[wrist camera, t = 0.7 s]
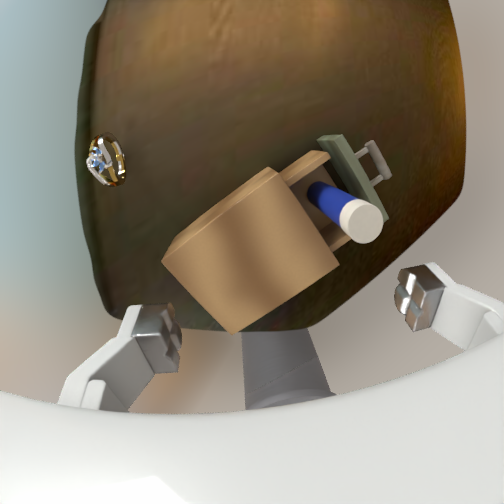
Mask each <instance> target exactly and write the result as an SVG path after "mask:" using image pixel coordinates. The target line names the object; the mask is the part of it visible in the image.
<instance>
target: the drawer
mask: <svg viewBox="0 0 504 504" xmlns="http://www.w3.org/2000/svg"><path fill="white" fill-rule="evenodd" d="M316 141H317V142H318V144H319V145H320V147H321V148H322V150H323V151H324V152H323V151H313V150H311V151H310V152H308V153H307V154H305V155H304V156H302V157H301V158H300V159H298V160H297V161H295V162H294V163H292V164H291V165H289V166H288V167H287V168H285V169H284V170H282V171H281V172H279V174H280V176H281V177H282V178H283V180H284V181H285V183H286V184H287V185H288V187H289V188H290V190H291V191H292V193H293V194H294V196H295V197H296V198H297V200H298V201H299V203H300V204H301V206H302V207H303V209H304V210H305V212H306V213H307V215H308V216H309V218H310V219H311V221H312V222H313V224H314V225H315V227H316V228H317V230H318V231H319V233H320V234H321V236H322V237H323V239H324V240H325V242H326V244H327V245H328V247H329V248H330V250H331V251H332V252H333V251H335V250H336V249H338V248H339V247H340V246H342V245H343V244H345V243H346V242H347V241H349V240H350V239H352V238H351V237H350V236H348V235H347V234H346V233H345V232H344V231H343V230H342V228H341V227H340V226H338V225H337V224H336V223H335V222H334V221H332V220H331V219H330V218H329V217H328V216H326V215H325V214H324V213H323V212H322V211H320V210H319V209H318V208H317V207H315V206H314V205H313V204H312V203H311V202H310V201H309V200H308V197H307V191H308V188H309V186H310V185H311V184H312V183H314V182H317V181H321V182H324V183H327V184H329V185H331V186H333V187H335V188H337V186H336V185H335V183H334V182H333V180H332V178H331V177H330V175H329V174H328V172H327V170H326V169H325V167H324V166H323V163H325V162H326V161H327V160H329V161H330V162H331V164H332V165H333V167H334V168H335V170H336V172H337V173H338V175H339V177H340V178H341V180H342V182H343V183H344V185H345V187H346V188H347V190H348V192H349V193H350V195H352V196H354V197H356V198H358V199H361V200H364V201H366V202H368V203H370V204H372V205H374V206H376V207H377V208H378V209H379V210H380V212H381V214H382V216H383V223H384V222H385V221H386V220H387V219H389V218H388V215H387V213H386V211H385V209H384V207H383V205H382V203H381V201H380V199H379V197H378V196H377V194H376V192H375V190H374V188H373V186H374V185H376V184H377V183H379V182H380V181H381V180H386V179H389V178H390V177H391V176H392V174H391V172H390V170H389V168H388V166H387V164H386V162H385V160H384V158H383V156H382V154H381V152H380V151H379V149H378V147H377V145H376V143H375V142H374V140H372V141H369V142H367V143H366V144H365V145H364V146H365V147H364V148H363V149H361V150H360V151H358V152H357V153H355V154H354V152H353V151H352V149H351V147H350V146H349V144H348V143H347V141H346V139H345V138H344V136H343V135H324V136H322V137H320V138H319V139H317V140H316ZM367 152H368V153H369V155H370V156H371V158H372V160H373V162H374V164H375V166H376V167H377V169H378V171H379V173H380V175H378V176H377V177H375V178H374V179H373V180H371V181H369V179H368V177H367V175H366V173H365V171H364V170H363V168H362V166H361V164H360V163H359V161H358V159H359V158H360V157H361V156H363V155H364V154H366V153H367ZM337 189H338V188H337Z"/></svg>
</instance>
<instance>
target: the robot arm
mask: <svg viewBox="0 0 504 504" xmlns="http://www.w3.org/2000/svg"><path fill="white" fill-rule="evenodd" d="M398 280H399V282H400V284H399V285H398V286H397V287H396V289H395V295H394V298H395V304H396V307H397V309H398V311H399V312H400V313H402V314H404V315H406V318H405V321H406V322H407V324H408V325H409V327H410V328H411V330H412V331H413V332H415V331H418V330H422V329H426V328H429V327H431V329H433V330H434V331H436V332H437V333H439V334H440V335H442V336H443V337H445V338H447V339H448V340H449V341H451V342H452V343H454V344H456V345H457V346H458V347H460V348H461V349H463V350H464V351H465V352H463V353H461V354H459V355H456V356H454V357H451V358H449V359H447V360H444V361H442V362H440V363H437V364H435V365H432V366H429V367H427V368H424V369H422V370H419V371H416V372H413V373H410V374H408V375H405V376H402V377H399V378H396V379H393V380H390V381H386V382H383V383H380V384H377V385H373V386H370V387H367V388H363V389H359V390H355V391H352V392H347V393H343V394H339V395H335V396H330V397H326V398H321V399H316V400H311V401H306V402H301V403H295V404H289V405H283V406H276V407H269V408H261V409H253V410H244V411H233V412H218V413H199V414H143V413H130V412H129V411H128V409H129V408H130V406H131V405H132V404H133V402H134V401H135V400H136V399H137V397H138V396H139V395H140V393H141V392H142V391H143V389H144V388H145V387H146V386H147V384H148V383H149V382H150V381H151V379H152V378H153V377H154V375H155V373H173V372H178V368H179V360H180V356H179V354H178V352H177V351H178V350H179V349H180V348H181V345H182V333H181V329H180V325H179V322H178V321H177V320H175V319H174V314H175V311H174V308H173V306H172V304H171V303H159V304H144V305H132V306H129V307H128V309H127V311H126V314H125V316H124V319H123V321H122V324H121V327H120V329H119V332H118V335H117V337H116V338H112V339H111V340H109V341H108V342H107V343H106V344H105V345H104V346H103V347H101V348H100V349H99V350H98V351H97V352H95V353H94V354H93V355H92V356H91V357H89V358H88V359H87V360H86V361H85V362H84V363H82V364H81V365H80V366H79V367H78V368H77V369H76V370H74V371H73V372H72V373H71V374H70V375H68V376H67V379H66V381H65V384H64V386H63V389H62V392H61V394H60V397H59V400H58V403H57V404H55V403H49V402H44V401H40V400H35V399H31V398H26V397H23V396H19V395H15V394H11V393H8V392H4V391H1V390H0V504H504V302H502V301H499V300H497V299H495V298H492V297H490V296H488V295H485V294H483V293H481V292H478V291H476V290H474V289H471V288H469V287H466V286H464V285H462V284H456V283H455V282H454V281H453V280H452V279H451V278H450V277H449V276H448V275H447V274H446V273H445V272H444V271H443V270H442V269H441V268H440V267H439V266H438V265H437V264H436V263H434V262H431V263H426V264H423V265H419V266H415V267H410V268H405V269H401V270H400V272H399V275H398Z"/></svg>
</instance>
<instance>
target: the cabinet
mask: <svg viewBox="0 0 504 504" xmlns="http://www.w3.org/2000/svg"><path fill="white" fill-rule="evenodd" d="M161 262H162V263H163V264H164V266H165V267H166V268H167V269H168V270H169V271H170V272H171V273H172V274H173V275H174V277H175V278H176V279H177V280H178V281H179V282H180V283H181V284H182V285H183V286H184V287H185V288H186V289H187V291H188V292H189V293H190V294H191V295H192V296H193V297H194V298H195V299H196V300H197V301H198V302H199V303H200V304H201V305H202V306H203V307H204V308H205V309H206V310H207V311H208V312H209V313H210V314H211V315H212V316H213V317H214V318H215V319H216V320H217V321H218V322H219V323H220V324H221V325H222V326H223V327H224V328H225V329H226V330H227V331H228V332H229V333H230V334H231V335H233V334H235V333H236V332H238V331H240V330H241V329H243V328H245V327H246V326H248V325H249V324H251V323H253V322H254V321H256V320H257V319H259V318H261V317H262V316H264V315H265V314H267V313H269V312H270V311H272V310H273V309H275V308H276V307H278V306H279V305H281V304H283V303H284V302H286V301H287V300H289V299H290V298H292V297H293V296H295V295H296V294H298V293H299V292H301V291H302V290H304V289H305V288H307V287H308V286H310V285H311V284H313V283H314V282H316V281H317V280H318V279H320V278H321V277H323V276H324V275H326V274H327V273H329V272H330V271H332V270H333V269H334V268H336V267H337V266H339V265H340V264H339V263H338V261H337V259H336V258H335V256H334V255H333V253H332V251H331V250H330V248H329V247H328V245H327V244H326V242H325V240H324V239H323V237H322V236H321V234H320V233H319V231H318V230H317V228H316V227H315V225H314V224H313V222H312V221H311V219H310V218H309V216H308V215H307V213H306V212H305V210H304V209H303V207H302V206H301V204H300V203H299V201H298V200H297V198H296V197H295V196H294V194H293V193H292V191H291V190H290V188H289V187H288V185H287V184H286V183H285V181H284V180H283V178H282V177H281V176H280V174H279V173H278V172H276V171H274V170H273V169H271V168H270V167H266V168H265V169H264V170H262V171H261V172H259V173H258V174H257V175H255V176H254V177H252V178H251V179H250V180H248V181H247V182H246V183H244V184H243V185H241V186H240V187H239V188H237V189H236V190H235V191H233V192H232V193H231V194H229V195H228V196H227V197H225V198H224V199H223V200H221V201H220V202H219V203H217V204H216V205H215V206H213V207H212V208H211V209H210V210H208V211H207V212H206V213H204V214H203V215H202V216H201V217H199V218H198V219H197V220H195V221H194V222H193V223H192V224H190V225H189V226H188V227H187V228H185V229H184V230H183V231H182V232H180V233H179V234H178V235H177V236H175V238H174V240H173V241H172V243H171V245H170V247H169V248H168V250H167V252H166V254H165V255H164V257H163V259H162V261H161Z"/></svg>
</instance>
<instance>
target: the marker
mask: <svg viewBox="0 0 504 504" xmlns="http://www.w3.org/2000/svg"><path fill="white" fill-rule="evenodd" d="M307 197H308V200H309V201H310V202H311V203H312V204H313V205H314V206H315V207H317V208H318V209H319V210H320V211H322V212H323V213H324V214H325V215H326V216H328V217H329V218H330V219H331V220H332V221H334V222H335V223H336V224H337V225H338V226H340V227H341V228H342V230H343V231H344V232H345V233H346V234H347V235H348V236H350V237H351V238H352V239H353V240H354V241H356V242H358V243H368V242H371V241H373V240H374V239H375V238H377V236H378V235H379V234H380V232H381V230H382V227H383V216H382V214H381V212H380V210H379V209H378V208H377V207H376V206H374V205H372V204H370V203H368V202H366V201H364V200H361V199H358V198H356V197H354V196H352V195H350V194H348V193H346V192H344V191H341V190H339V189H337V188H335V187H333V186H331V185H329V184H327V183H324V182H321V181H317V182H314V183H312V184H311V185H310V186H309V188H308V191H307Z"/></svg>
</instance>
